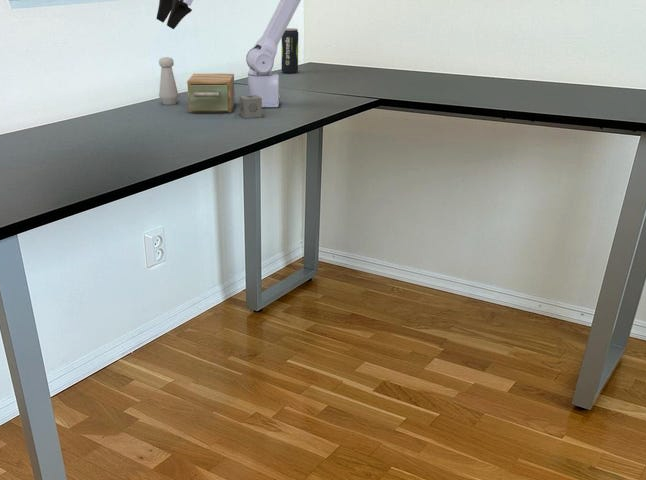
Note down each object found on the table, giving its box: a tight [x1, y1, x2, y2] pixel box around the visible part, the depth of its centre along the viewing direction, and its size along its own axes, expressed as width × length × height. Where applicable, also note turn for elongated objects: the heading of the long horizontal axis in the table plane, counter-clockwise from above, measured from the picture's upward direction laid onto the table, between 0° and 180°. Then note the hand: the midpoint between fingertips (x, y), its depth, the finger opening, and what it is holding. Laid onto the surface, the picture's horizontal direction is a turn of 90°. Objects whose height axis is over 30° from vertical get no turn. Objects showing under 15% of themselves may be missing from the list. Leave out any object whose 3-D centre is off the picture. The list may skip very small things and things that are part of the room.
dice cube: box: [238, 95, 263, 119], centre depth 197 cm, size 5×5×5 cm
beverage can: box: [281, 27, 299, 75], centre depth 262 cm, size 6×6×15 cm
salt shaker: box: [158, 56, 179, 106], centre depth 211 cm, size 6×6×13 cm
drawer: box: [189, 84, 229, 111], centre depth 202 cm, size 18×11×7 cm, turn 178°
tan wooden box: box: [186, 73, 236, 114], centre depth 206 cm, size 14×12×9 cm
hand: (164, 24), depth 194 cm, fingers open, 7 cm apart
